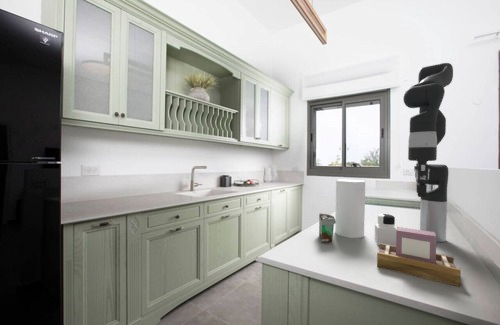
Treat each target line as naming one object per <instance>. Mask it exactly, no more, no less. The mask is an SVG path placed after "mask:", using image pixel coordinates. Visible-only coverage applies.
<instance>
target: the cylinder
mask: <svg viewBox="0 0 500 325" xmlns="http://www.w3.org/2000/svg"><path fill="white" fill-rule="evenodd" d="M335 184H336V185H335V217H334V218H335V221H336V223H335V224H334V227H335V228H334V229H335V230H334V233H335V234H336V235H338V236H340V237H343V238H351V239H361V238H364V237H365V219H366V218H365V216H366V215H365V214H366V213H365V212H366V205H365V204H366V181H365V180H360V179H359V180H358V179H345V178H344V179H336V181H335Z"/></svg>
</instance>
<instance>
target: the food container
mask: <svg viewBox="0 0 500 325" xmlns="http://www.w3.org/2000/svg"><path fill="white" fill-rule="evenodd" d="M318 216H319V217H318V218H319V222H318V223H319V226H318V228H319V231H318V237H319V240H320V243H321V244H330V243H332V242H333V238H334V229H335V228H334V227H335V223H336V221H335V218H336V217H335V216H334V215H331V214H327V213H321V212H320V213H319V215H318Z"/></svg>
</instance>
